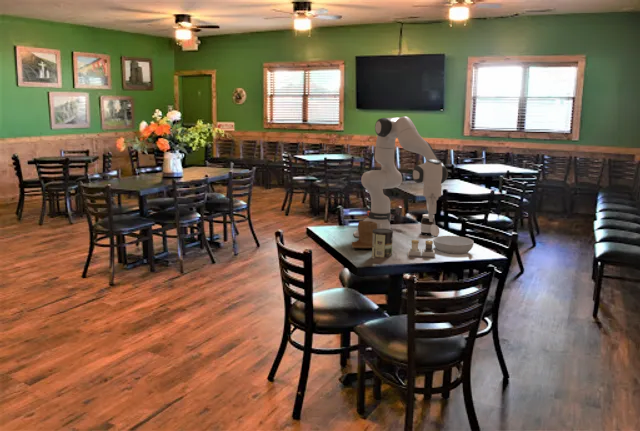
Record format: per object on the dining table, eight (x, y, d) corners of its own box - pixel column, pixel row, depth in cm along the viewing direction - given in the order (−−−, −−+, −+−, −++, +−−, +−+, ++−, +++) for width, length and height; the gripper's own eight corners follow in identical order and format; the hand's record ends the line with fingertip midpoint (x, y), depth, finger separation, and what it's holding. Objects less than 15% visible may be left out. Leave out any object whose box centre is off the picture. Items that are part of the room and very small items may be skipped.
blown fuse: (424, 256, 285) (425, 241, 283) (424, 254, 288) (425, 240, 287) (432, 256, 284) (433, 242, 283) (431, 254, 288) (432, 240, 286)
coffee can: (389, 254, 292) (390, 228, 289) (393, 260, 282) (394, 232, 279) (370, 254, 291) (371, 228, 289) (373, 260, 281) (374, 232, 278)
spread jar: (423, 231, 347) (424, 213, 345) (441, 233, 342) (442, 215, 340) (418, 235, 336) (419, 216, 334) (436, 237, 332) (438, 218, 329)
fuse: (410, 255, 286) (411, 241, 284) (410, 253, 289) (411, 239, 288) (418, 255, 285) (418, 241, 284) (417, 254, 289) (418, 239, 287)
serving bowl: (428, 247, 309) (428, 235, 307) (465, 247, 310) (466, 235, 309) (438, 257, 288) (439, 244, 287) (478, 258, 290) (479, 245, 288)
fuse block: (407, 259, 283) (407, 252, 282) (407, 254, 293) (407, 247, 292) (435, 261, 281) (436, 253, 280) (434, 256, 291) (435, 248, 290)
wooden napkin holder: (375, 244, 312) (376, 218, 309) (380, 250, 301) (381, 222, 298) (348, 245, 310) (349, 218, 308) (352, 250, 299) (353, 223, 296)
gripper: (439, 195, 269) (438, 224, 272) (437, 189, 289) (435, 216, 292) (426, 195, 270) (425, 223, 273) (424, 189, 290) (423, 215, 293)
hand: (430, 219), depth 282 cm, fingers open, 8 cm apart
